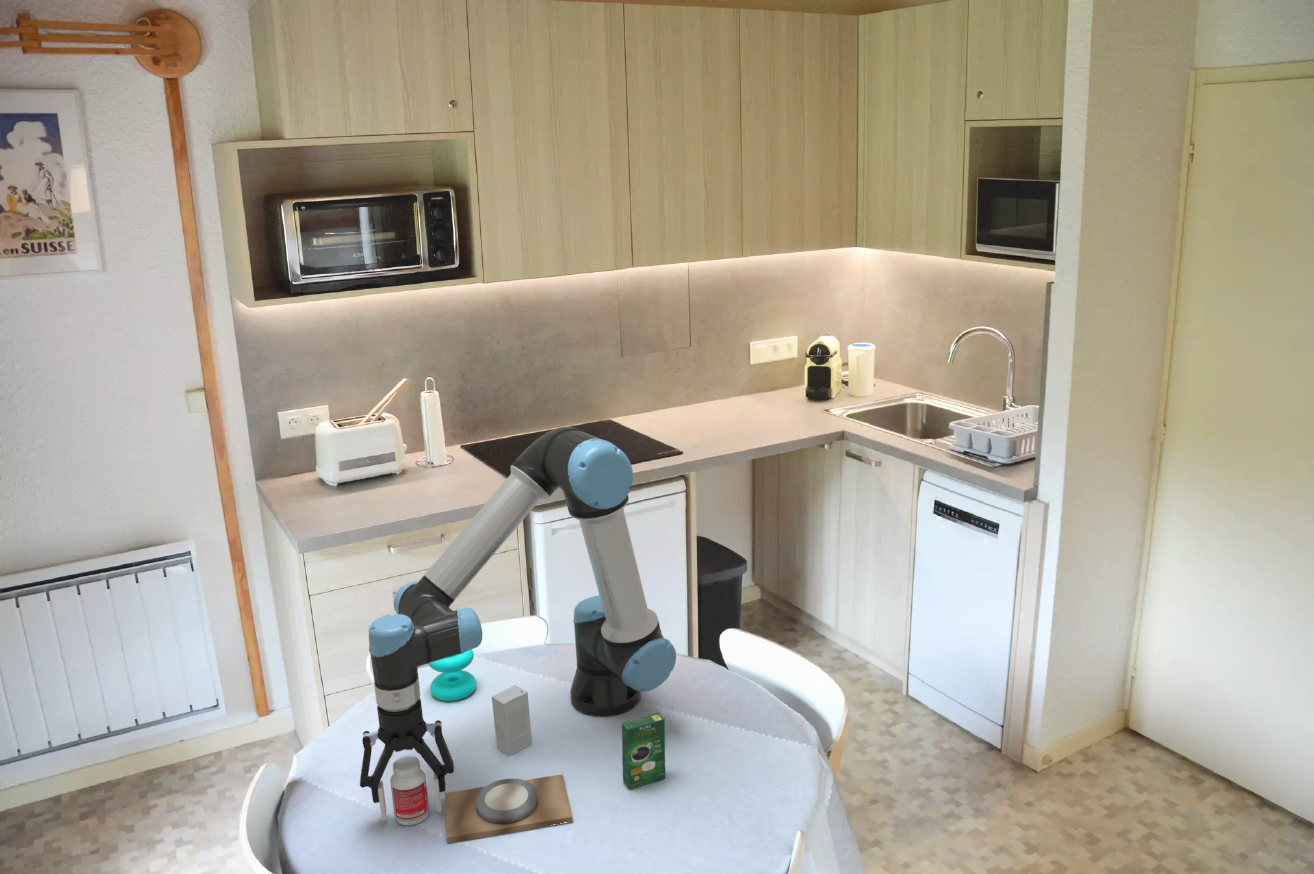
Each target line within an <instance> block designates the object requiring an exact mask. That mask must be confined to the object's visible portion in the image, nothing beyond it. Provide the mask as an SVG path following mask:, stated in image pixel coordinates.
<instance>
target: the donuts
mask: <svg viewBox="0 0 1314 874" xmlns="http://www.w3.org/2000/svg"><path fill="white" fill-rule="evenodd" d="M474 654H475V653H474V649H471V650H469V651H466V652H464V653H463V654H458V655H455V656H451V657H448V658H444V659H441V660H438V661H434V662H431V663H428V664H427V665H428V666H429V667H430V668H431V669H432V670H434V671H436V672H438V673H439V674H438V675H437V676H435V677H434V679H432V681H431V683H430V688H429V689H430V692H431V695H432V696H433V697H434V698H436V699H438V700H441V701H444V702H446V701H447V702H455V701H459V700H463V699H465V698H467V697H469V696H470V695H472V694H473V693H474V691H475V690H476V687H477V679H476V678H475V675H474V674H472V673H471V672H469V671H466V670H464V669H465V668H467V667H468V666H470V664H471V663H472V662H473V660H474V657H475V655H474Z"/></svg>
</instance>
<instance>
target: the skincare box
mask: <svg viewBox="0 0 1314 874" xmlns="http://www.w3.org/2000/svg"><path fill="white" fill-rule="evenodd" d="M491 703H492V712H493V713H492V714H493V723H494V730H495V733H494V734H495V741H496V749H497V750H498V751H500V752H502V753H503V754H505V755H506V756H508V757H510V756H513V755H514V754H516V753H517V752H520V751H521V750H523V749H525V748H527V747H528V746H531V745H532V744H533V740H532V738H533V737H532V728H531V727H532V726H531V716H530V715H531V714H530V704H529V703H530V702H529V694H528V691H526V690H525V689H523V688H522V687H520V686H518V685H515V684H514V685H512V686H511V687H509V688H507V689H505V690H502V691H501V692H498V693H496V694H494V695H492V696H491Z"/></svg>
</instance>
